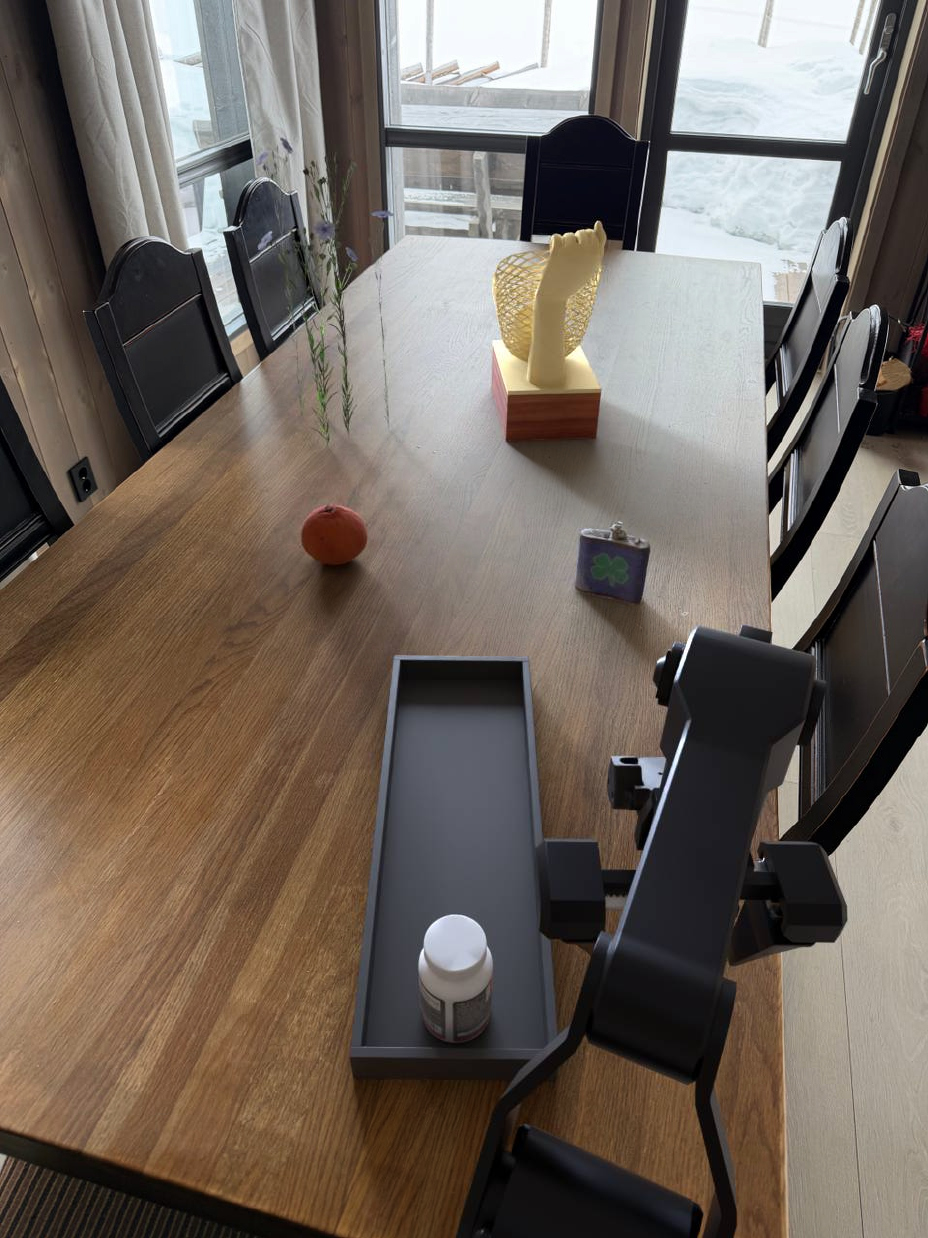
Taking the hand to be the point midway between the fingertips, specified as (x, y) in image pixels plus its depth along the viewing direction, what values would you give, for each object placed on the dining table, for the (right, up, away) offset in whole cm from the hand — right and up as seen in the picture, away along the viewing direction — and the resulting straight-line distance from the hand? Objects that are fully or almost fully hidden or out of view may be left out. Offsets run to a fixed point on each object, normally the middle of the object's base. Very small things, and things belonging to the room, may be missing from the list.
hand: (664, 959), depth 60 cm
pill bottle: (-15, -8, +10) cm, 19 cm away
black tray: (-14, +2, +24) cm, 28 cm away
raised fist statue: (0, +61, +99) cm, 116 cm away
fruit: (-32, +32, +61) cm, 76 cm away
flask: (+5, +27, +55) cm, 62 cm away
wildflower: (-36, +57, +93) cm, 115 cm away
